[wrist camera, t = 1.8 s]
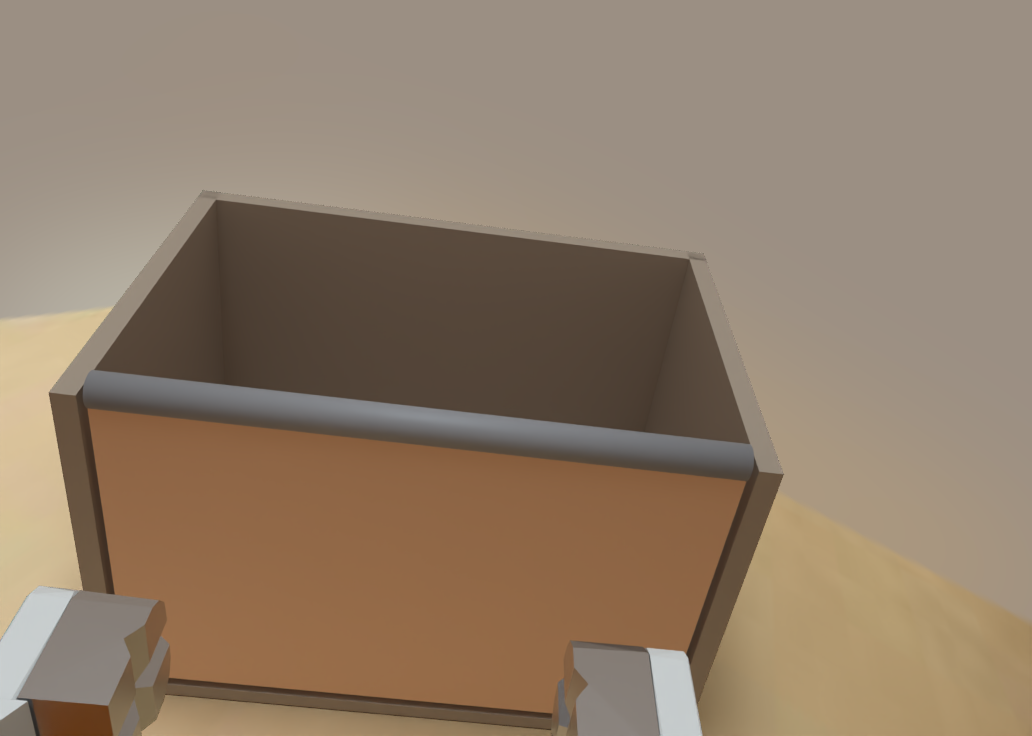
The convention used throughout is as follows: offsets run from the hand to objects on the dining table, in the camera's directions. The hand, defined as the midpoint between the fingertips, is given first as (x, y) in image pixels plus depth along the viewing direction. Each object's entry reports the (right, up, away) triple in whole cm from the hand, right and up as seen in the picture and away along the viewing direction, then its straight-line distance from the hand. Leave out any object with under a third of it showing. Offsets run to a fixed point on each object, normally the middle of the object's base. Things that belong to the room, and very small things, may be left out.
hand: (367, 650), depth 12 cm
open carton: (-3, -6, +31) cm, 32 cm away
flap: (-3, -9, +24) cm, 26 cm away
